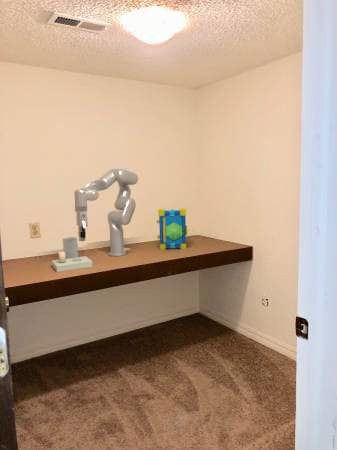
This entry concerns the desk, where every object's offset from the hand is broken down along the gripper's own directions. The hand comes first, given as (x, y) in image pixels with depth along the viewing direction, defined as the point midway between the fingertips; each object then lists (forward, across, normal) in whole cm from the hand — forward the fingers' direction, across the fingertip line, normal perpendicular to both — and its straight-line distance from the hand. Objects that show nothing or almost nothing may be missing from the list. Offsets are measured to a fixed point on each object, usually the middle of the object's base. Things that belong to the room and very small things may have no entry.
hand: (82, 237), depth 236 cm
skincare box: (+18, +19, +3) cm, 27 cm away
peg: (+2, 0, 0) cm, 2 cm away
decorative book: (+16, +10, -72) cm, 74 cm away
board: (+18, 0, +7) cm, 20 cm away
